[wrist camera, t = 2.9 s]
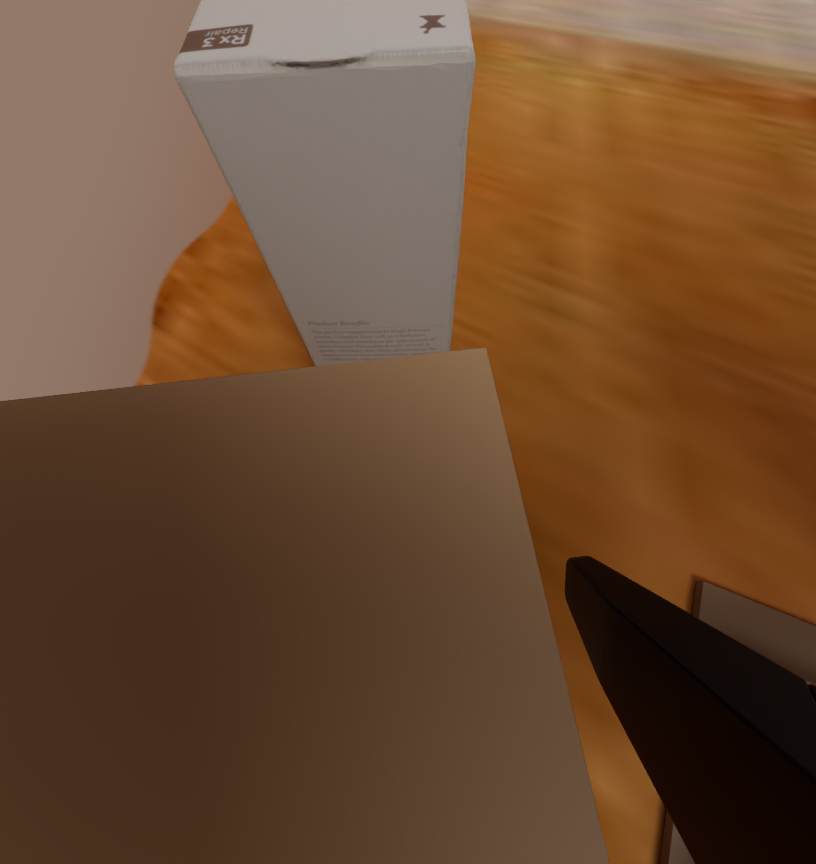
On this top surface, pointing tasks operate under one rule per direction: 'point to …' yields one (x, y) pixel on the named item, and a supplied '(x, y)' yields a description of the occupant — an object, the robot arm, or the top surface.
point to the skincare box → (343, 158)
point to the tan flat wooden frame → (762, 632)
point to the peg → (280, 627)
